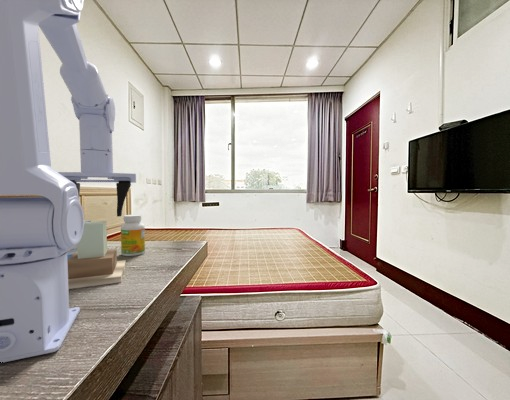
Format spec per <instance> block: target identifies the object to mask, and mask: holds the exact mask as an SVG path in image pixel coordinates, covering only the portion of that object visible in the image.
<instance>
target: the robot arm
mask: <svg viewBox="0 0 510 400" xmlns="http://www.w3.org/2000/svg"><path fill="white" fill-rule="evenodd" d="M83 8H84V0H0V362H1V363H0V364H3V363H7V362H12V361H17V360H21V359H27V358H31V357H37V356H41V355H47V354H52V353H55V352H56V351H58V350H59V349H60V348H61V346H62V344H63V343H64V340H65V338H66V337H67V335H68V333H69V331H70V329H71V328H72V326H73V324H74V322H75V320H76V319H77V317H78V315H79V313H80V311H81V308H80V307H79V306H77V307H76V306H75V307H70V294H69V292H70V291H69V290H70V289H68V262H67V251H69V250H71V249H73V248H74V247H75V246H76V245H77V244H78V243H79V241H80V240H81V237H82V234H83V230H84V220H85V216H84V209H83V206H82V204H81V202H80V191H81V190H80V189H81V183H115V185H116V197H117V198H116V200H117V202H116V203H117V204H116V217H117V218H118V217H121V216H122V214H123V207H124V203H125V200H126V198H127V195H128V193H129V190H130V189H131V186H132V183H133V184H134V183H137V174H136V173H130V172H129V173H123V172H114V164H113V163H114V160H113V155H114V154H113V132H115V131H114V130H115V119H116V107H115V102H114V98H113V97H112V96H109V94H107V92H106V90H105V86H104V84H103V81H102V79H101V76H100V73H99V71H98V68H97V67H96V65H95V64H94V63H93V62H92V61H89V60H87V57H86V53H85V50H84V45H83V43H82V40H81V36H80V32H79V29H78V25H77V24H78V23H80V22H81V13H82V10H83ZM39 28H40V30H39ZM39 31H41V32H42V33H43V35H44V37H45V39H46V40H47V41H48V43H49V44H50V45H49V46H51V48H52V49H53V51H54V53H55V54H56V56H57V57H58V59H59V60H60V62H61V63H62V64H61V66H60V69H59V74H60V76H61V79H62V80H63V82H64V84H65V85H66V88H67V89H68V91H69V93H70V95H71V97H70V101H71V103H72V106H73V107H72V108H73V113H74V115H75V117H76V119H77V120H78V123H79V124H78V125H79V148H80V149H79V152H80V171H79V172H78V171H77V172H76V171H71V172H70V171H69V172H68V171H57V170H55V169H53V168H52V162H51V151H50V140H49V139H50V138H49V131H48V120H47V109H46V108H47V107H46V97H45V88H44V87H45V86H44V78H43V77H44V75H43V66H42V53H41V43H40V33H39ZM89 178H101V179H89ZM102 178H104V179H102ZM106 178H107V179H106ZM1 196H3V197H1ZM5 196H6V197H5ZM2 362H3V363H2Z"/></svg>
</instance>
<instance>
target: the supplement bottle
mask: <svg viewBox="0 0 510 400" xmlns="http://www.w3.org/2000/svg"><path fill="white" fill-rule="evenodd" d="M141 221H142V214H126V215H125V214H124V215H123V222H124V223H123V224H122V225H121V226H120V249H121V250H120V253H121V255H122V256H123V257H134V256H140V255H143V254H144V253H146V252H145V251H146V239H145V238H146V237H145V233H146V231H145V224H144V223H142V222H141Z"/></svg>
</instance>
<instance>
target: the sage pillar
mask: <svg viewBox="0 0 510 400" xmlns="http://www.w3.org/2000/svg"><path fill="white" fill-rule="evenodd" d="M107 231H108V229H107V220H105V221H104V220H102V221H101V220H100V221H91V222H84V230H83V234H82V237H81V240H80V241H79V243H78V244H77V253H78V259H82V258H92V257H103V256H104V255H105V254H106V252H107V250H108V238H107V237H108V236H107V235H108V234H107V233H108V232H107Z"/></svg>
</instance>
